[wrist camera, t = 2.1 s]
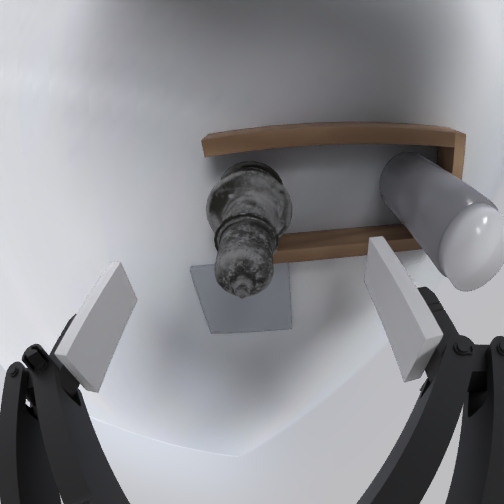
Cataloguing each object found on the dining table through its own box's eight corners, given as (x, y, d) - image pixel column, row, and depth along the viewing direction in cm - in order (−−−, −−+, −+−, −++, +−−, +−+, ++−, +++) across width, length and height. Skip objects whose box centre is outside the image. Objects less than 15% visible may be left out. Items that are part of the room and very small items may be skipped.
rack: (207, 134, 19) (201, 140, 17) (449, 127, 17) (466, 134, 15) (230, 251, 25) (227, 267, 23) (436, 232, 23) (448, 246, 21)
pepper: (380, 151, 19) (461, 212, 10) (435, 153, 19) (523, 210, 10) (377, 214, 22) (436, 300, 13) (429, 211, 22) (497, 286, 13)
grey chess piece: (291, 220, 23) (312, 333, 13) (222, 230, 24) (197, 343, 14) (282, 152, 20) (306, 228, 10) (206, 164, 21) (155, 249, 11)
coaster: (191, 266, 26) (189, 270, 26) (287, 258, 25) (288, 261, 25) (211, 329, 31) (211, 333, 30) (291, 324, 30) (291, 328, 30)
